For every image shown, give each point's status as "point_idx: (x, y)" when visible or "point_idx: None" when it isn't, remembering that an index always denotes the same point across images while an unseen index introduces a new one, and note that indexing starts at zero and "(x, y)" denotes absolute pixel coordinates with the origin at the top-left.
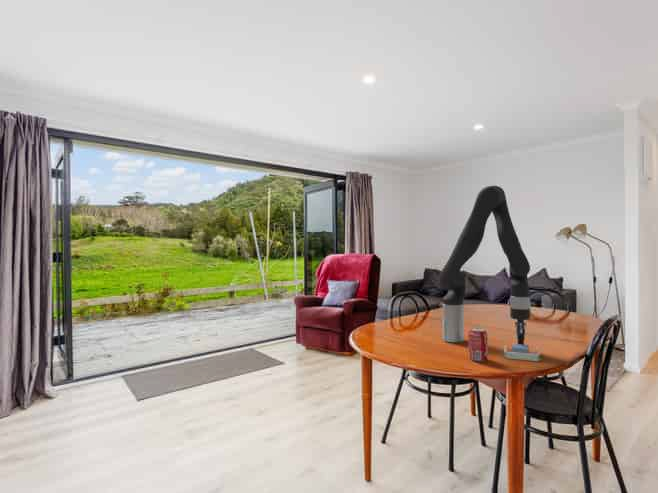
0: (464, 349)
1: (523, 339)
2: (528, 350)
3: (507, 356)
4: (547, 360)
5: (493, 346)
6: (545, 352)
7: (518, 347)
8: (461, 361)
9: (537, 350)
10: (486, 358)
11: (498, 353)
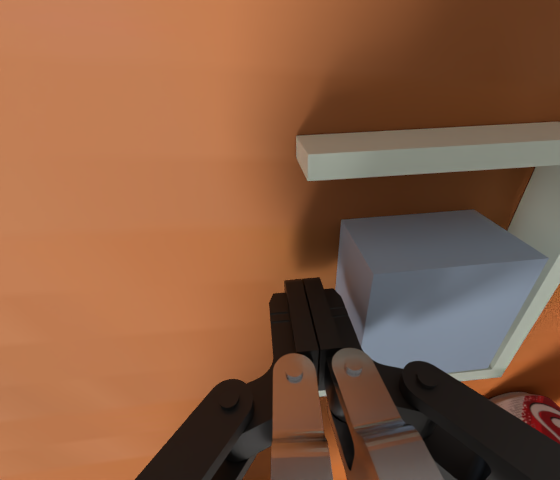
0: (336, 463)
1: (433, 371)
2: (528, 254)
3: None
4: (541, 41)
5: None
6: (189, 40)
7: (484, 336)
8: None
9: (450, 162)
10: (549, 401)
11: None
